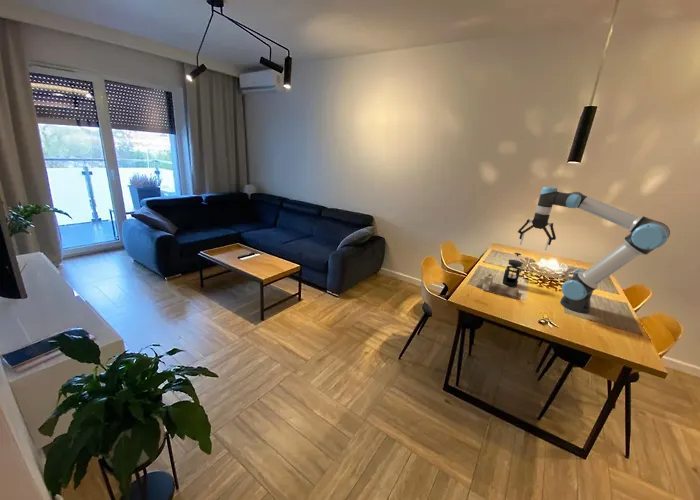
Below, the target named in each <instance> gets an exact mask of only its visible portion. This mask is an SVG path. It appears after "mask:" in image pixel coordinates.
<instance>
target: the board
mask: <svg viewBox="0 0 700 500" xmlns="http://www.w3.org/2000/svg"><path fill="white" fill-rule="evenodd" d="M483 282H484V278H483V279H482V278H481V279H480V280H479V281H478V282H477V283H476V285H475V287H476V288H477V289H481V290H482V286H483ZM519 291H520V290H519V289H517V288H515V287H509V286H506V285H504V284H499V283H496V282H493V281H492V284H491V287H490V288H489V291H488V292H490V293H493V292H494V293H495V294H496V293H497V294H496V295H500V296H504V297H506V298H510V299H514V300H516V298H517V297H518V294H519Z"/></svg>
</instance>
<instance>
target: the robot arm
mask: <svg viewBox="0 0 700 500" xmlns="http://www.w3.org/2000/svg"><path fill="white" fill-rule="evenodd" d="M537 202H538V203H537V205H536V209H535V213H534V216H533V219H530V218H527V219H526V221H525V223H524V224H523V225H522V226H521V227H520V228H519V229H518V231H517V233H518V234H519V240H520V243H519V245H520V246H522V244H523V241H524V238H525V233H527V232H528V231H530V230H531V229H533V228H535V229H539V230H542V231H544V233H545V235H546V236H547V241H546V245H545V248H544V251H547V249H548V246H551V244H552V241H553V240H554V241H555V240H556V239H557V237H556V233H555V229H554V223H553V222H551V223H550V222H549V219H550V214H551V212H552V208H553V206H559V207H564V208H568V209H577V208H578V209H579V210H583V211H584V212H587V213H589V214H592V215H594V216H596V217H598V218H601V219H603V220H606V221H609V222H610V223H613V224H615V225H617V226H620V227H622V228H624V229H627V230H628V231H629V234H628V235H626V236H625V237H624V238H623V243H621V244H620V245H619V246H617V247H615V248H614V249H613V250H612V251H610V252H609V253H608V254H606V255H605V256H604V257H602V258H601V259H600V260H598V261H597V262H596V263H594V264H593V265H591V266H590V267H589V268H588V269H586V270H582V269H575V270H574V271H573V274H572V277H569V279H568V280H566V281H564V282H563V284H562V286H561V292H562V293H563V296H562V297H561V299H560V301H559V302H560V304H561V306H563V308H566V309H568V310H571V311H573V312H577V313H581V314H582V313H585V314H587V313H590V311H591V306H592V305H591V303H592V302H591V298H592V296H593V293H594V291H595V290H597V289H598V287H599V286H598V285H599V284H600V283H601V282H603V281H604V280H606V279H607V278H608V277H610V276H611V275H614V273H616V272H617V271H618V270H621V268H624V266H626V265H628V264H629V263H630V262H632V261H633V260H635V259H636V258H637V257H638V258H639V256H646V255H648V254H650V253H651V252H653V251H655V250H656V249H658V248H661V247H662V246H663V245H665V244H666V243H667V241H668V239H669V238H670V235H671V230H670V228H669V226H668V225H666V224H665V223H664V222H662V221H658V220H656V219H655V220H654V219H652V218H649V217H646V216H644V215H641V216H638V215H636V214H633V213H630V212H628V211H625V210H623V209H620V208H618V207H615V206H613V205H610V204H608V203H605V202H603V201H601V200H598V199H594V198H592V197H589V196H587V195H584V194H583V193H582V192H581V191H572V192H563V191H562V192H561V191H558V187H555V186H543V187H542V188H541V191H540V194H539V199H538V201H537ZM528 224H532V225H530V226H527V225H528ZM526 226H527V228H526V229H524V228H525V227H526ZM547 226H548V227H550V230H551V231H550V232H551V233H550V232H549V231H548V229H547Z"/></svg>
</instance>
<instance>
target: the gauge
mask: <svg viewBox="0 0 700 500" xmlns="http://www.w3.org/2000/svg"><path fill="white" fill-rule="evenodd" d="M494 276H495V274H494V273H491V272H487V273H486V275H485V276H484V278H483V280H484V282H483V286H482V289H481V290H483V291H486V292H490V291H489V288H490V287H491V284H492V282H493V280H494Z"/></svg>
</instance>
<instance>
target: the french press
mask: <svg viewBox="0 0 700 500" xmlns="http://www.w3.org/2000/svg"><path fill="white" fill-rule="evenodd" d="M514 255H515V256H516V258H515V259H508V266H506V268H505V271H504V273H503V277H502V283H501V284H502V285H504V286H507V287H511V288H517V287H518V283H519V278H520V276H519V275H520V273H521V272H522V269H521V268H522V266H523V265H524V262H522V261H520V260H518V257H519V256H521V255H522V253H519V252H514ZM511 268H512V269H513V270H512V269H511ZM515 269H516V270H515ZM514 273H515V274H514Z"/></svg>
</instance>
